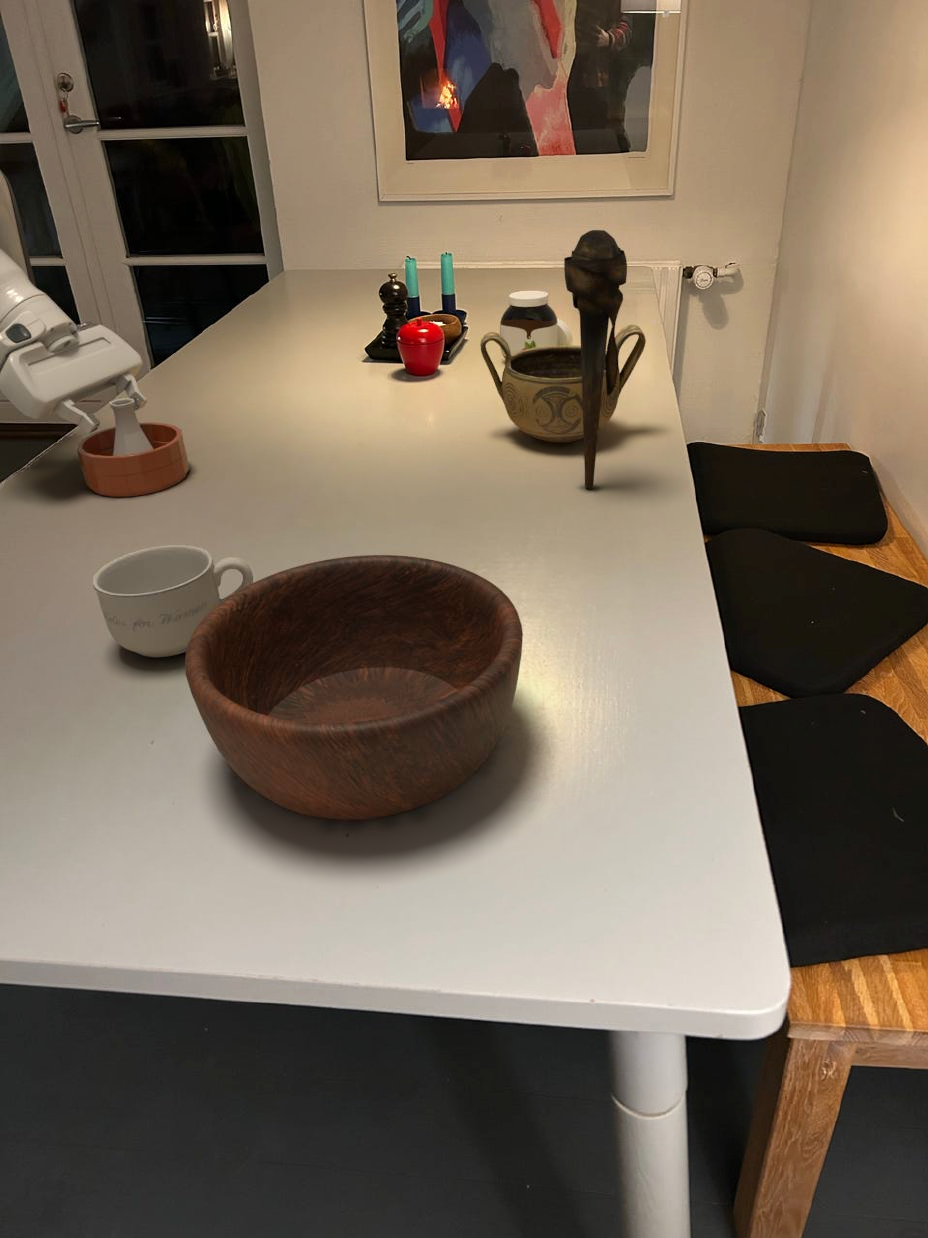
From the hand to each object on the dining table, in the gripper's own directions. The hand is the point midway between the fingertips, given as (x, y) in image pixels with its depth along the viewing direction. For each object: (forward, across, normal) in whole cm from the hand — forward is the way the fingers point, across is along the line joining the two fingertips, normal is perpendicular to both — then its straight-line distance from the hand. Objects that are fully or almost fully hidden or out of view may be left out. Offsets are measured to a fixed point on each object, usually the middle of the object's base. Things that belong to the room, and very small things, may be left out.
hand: (119, 417), depth 120 cm
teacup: (+29, +33, +16) cm, 47 cm away
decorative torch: (+48, -13, +37) cm, 62 cm away
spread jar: (+31, -68, +20) cm, 78 cm away
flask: (+6, 0, -5) cm, 8 cm away
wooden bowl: (+45, +41, +33) cm, 70 cm away
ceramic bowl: (+42, -30, +31) cm, 60 cm away
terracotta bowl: (+6, 0, -6) cm, 9 cm away
